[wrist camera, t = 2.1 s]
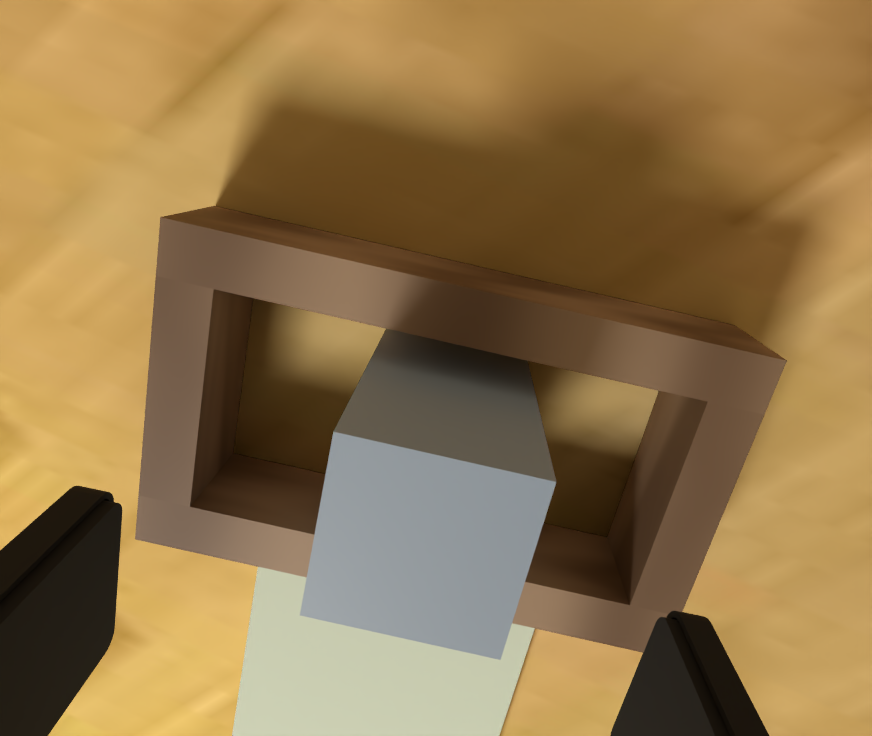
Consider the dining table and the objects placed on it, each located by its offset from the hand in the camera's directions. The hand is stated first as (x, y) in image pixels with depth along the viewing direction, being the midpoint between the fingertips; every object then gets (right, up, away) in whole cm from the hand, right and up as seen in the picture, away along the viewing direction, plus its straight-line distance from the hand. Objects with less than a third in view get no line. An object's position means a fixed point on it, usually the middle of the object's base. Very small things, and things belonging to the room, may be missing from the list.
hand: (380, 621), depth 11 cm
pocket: (+1, +3, +10) cm, 10 cm away
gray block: (+1, +3, +10) cm, 11 cm away
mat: (-1, -8, +14) cm, 16 cm away
